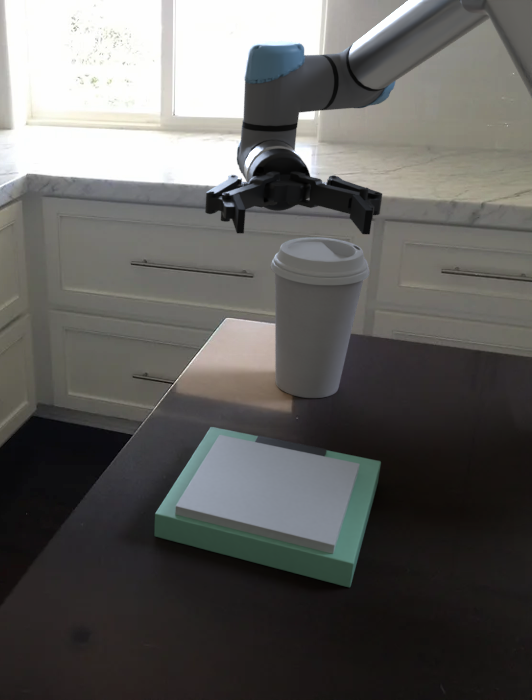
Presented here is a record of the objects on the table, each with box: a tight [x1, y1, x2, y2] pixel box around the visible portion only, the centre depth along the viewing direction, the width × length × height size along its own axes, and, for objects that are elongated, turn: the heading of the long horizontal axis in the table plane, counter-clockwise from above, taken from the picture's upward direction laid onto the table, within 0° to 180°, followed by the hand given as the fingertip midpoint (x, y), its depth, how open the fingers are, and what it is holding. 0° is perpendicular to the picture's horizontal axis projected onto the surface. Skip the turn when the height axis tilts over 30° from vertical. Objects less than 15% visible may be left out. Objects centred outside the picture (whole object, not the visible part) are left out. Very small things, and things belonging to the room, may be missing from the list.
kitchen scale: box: [153, 426, 382, 588], centre depth 71 cm, size 15×15×3 cm
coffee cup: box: [269, 236, 371, 399], centre depth 89 cm, size 10×10×15 cm
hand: (304, 222), depth 95 cm, fingers open, 13 cm apart
